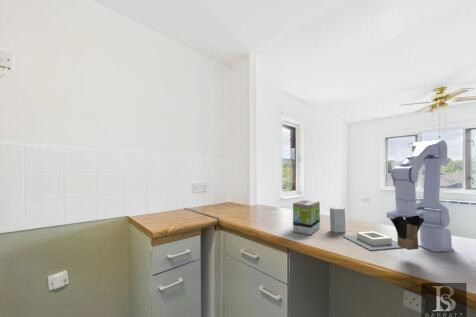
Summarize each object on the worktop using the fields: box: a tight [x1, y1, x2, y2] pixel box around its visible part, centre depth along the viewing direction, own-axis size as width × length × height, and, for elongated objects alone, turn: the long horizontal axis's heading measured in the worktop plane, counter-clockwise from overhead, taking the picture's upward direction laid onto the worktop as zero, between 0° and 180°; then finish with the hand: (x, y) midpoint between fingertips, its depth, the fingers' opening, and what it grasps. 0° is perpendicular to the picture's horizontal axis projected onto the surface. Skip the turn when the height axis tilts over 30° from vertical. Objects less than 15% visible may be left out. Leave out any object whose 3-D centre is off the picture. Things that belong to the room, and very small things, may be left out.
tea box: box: [292, 199, 321, 236], centre depth 108 cm, size 15×10×15 cm, turn 143°
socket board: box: [342, 230, 404, 252], centre depth 89 cm, size 18×16×3 cm
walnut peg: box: [396, 224, 419, 251], centre depth 72 cm, size 4×4×8 cm
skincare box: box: [329, 206, 347, 234], centre depth 104 cm, size 6×4×12 cm
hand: (407, 237), depth 72 cm, fingers closed on walnut peg, 4 cm apart
